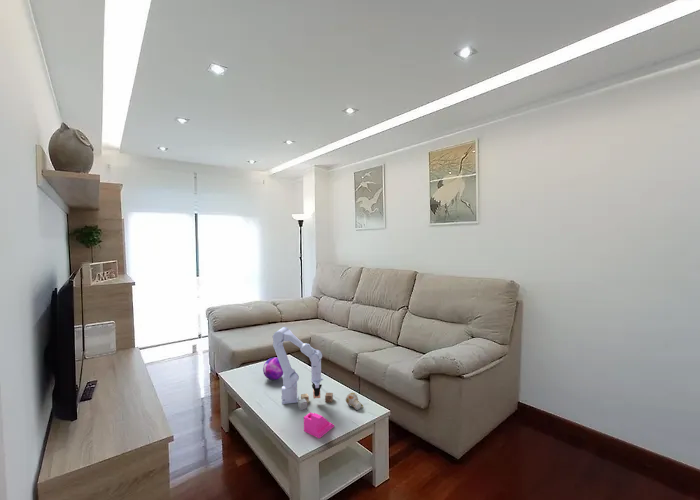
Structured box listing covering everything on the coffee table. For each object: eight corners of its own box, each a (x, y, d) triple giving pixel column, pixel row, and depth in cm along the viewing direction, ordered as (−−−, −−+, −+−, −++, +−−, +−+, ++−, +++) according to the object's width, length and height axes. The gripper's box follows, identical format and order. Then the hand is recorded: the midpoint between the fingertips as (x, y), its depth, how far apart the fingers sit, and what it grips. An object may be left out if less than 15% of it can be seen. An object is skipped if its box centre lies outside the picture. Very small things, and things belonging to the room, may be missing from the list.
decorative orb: (289, 377, 227) (289, 356, 226) (274, 386, 214) (273, 364, 213) (274, 372, 235) (274, 352, 234) (258, 380, 222) (258, 359, 221)
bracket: (319, 438, 159) (318, 418, 158) (304, 431, 165) (303, 412, 164) (334, 426, 169) (333, 407, 168) (319, 420, 175) (319, 401, 174)
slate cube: (300, 410, 185) (300, 403, 185) (298, 406, 188) (298, 400, 188) (307, 408, 187) (306, 401, 187) (304, 404, 190) (304, 398, 190)
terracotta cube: (313, 398, 189) (313, 391, 189) (313, 395, 193) (313, 388, 193) (320, 397, 190) (320, 391, 189) (319, 394, 194) (319, 388, 193)
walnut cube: (325, 402, 193) (325, 395, 193) (326, 398, 197) (326, 392, 197) (331, 402, 192) (331, 396, 192) (332, 399, 196) (332, 392, 196)
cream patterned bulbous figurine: (355, 413, 181) (347, 396, 183) (349, 412, 189) (342, 396, 192) (366, 406, 185) (358, 389, 187) (359, 406, 193) (352, 390, 195)
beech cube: (302, 404, 191) (302, 397, 191) (300, 400, 195) (300, 394, 195) (308, 402, 192) (308, 396, 192) (307, 399, 196) (307, 393, 196)
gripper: (324, 376, 184) (324, 399, 185) (322, 366, 198) (322, 387, 199) (311, 377, 183) (312, 400, 183) (310, 367, 197) (310, 388, 198)
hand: (316, 394), depth 191 cm, fingers closed on terracotta cube, 4 cm apart
